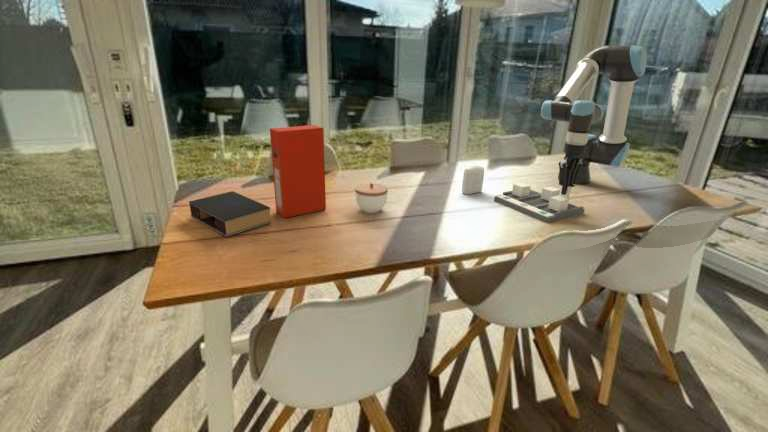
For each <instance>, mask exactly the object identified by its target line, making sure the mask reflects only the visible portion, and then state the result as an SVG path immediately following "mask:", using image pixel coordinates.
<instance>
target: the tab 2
mask: <svg viewBox="0 0 768 432" xmlns="http://www.w3.org/2000/svg"><path fill="white" fill-rule="evenodd" d="M569 201H570V198H569V199H567V198H564V197H561V195H559V196H553V197H550V199H549V205H548V208H549V209H552V210H555V211H557V212H560V211H564V210H567V206H568V203H569Z"/></svg>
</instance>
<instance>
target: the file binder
mask: <svg viewBox="0 0 768 432" xmlns="http://www.w3.org/2000/svg"><path fill="white" fill-rule="evenodd" d="M324 132H325V131H324V127H323V126H319V125H315V124H311V125H309V124H308V125H297V126H287V127H284V126H283V127H275V128H269V135H270V148H271V159H272V161H271V163H272V173H273V185H274V187H273V188H274V198H275V212H276V213H277V214H278V215H279V216H280V217H282V218H283V219H287V218H291V217H296V216H301V215H305V214H309V213H314V212H320V211H324V210H326V209H327V207H326V206H327V205H326V204H327V203H326V200H327V199H326V173H325V172H326V170H325V169H326V167H325V165H326V163H325V138H324V137H325V134H324Z"/></svg>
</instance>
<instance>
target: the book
mask: <svg viewBox="0 0 768 432" xmlns="http://www.w3.org/2000/svg"><path fill="white" fill-rule="evenodd" d="M188 204H189V208H190V217H191V218H193V219H195V221H196V220H197V221H199V222H200V224H203V225H205V226H207V227H209V228H210V229H212V230H214V231H216V232H217V233H219V234H221V235H222V236H224V237H227V238H228V237H231V236H234V235H237V234H240V233H244V232H246V231H248V230H252V229H255V228H259V227H262V226H265V225H268V224H271V223H272V221H271V207H270V206H267V205H265V204H263V203H261V202H259V201H256V200H253V199H252V198H249V197H247V196H245V195H242V194H240V193H237V192H236V191H233V190H232V191H228V192H223V193H220V194H219V193H218V194H214V195H211V196H207V197H206V196H205V197H203V198H198V199H195V200H190V201H188Z"/></svg>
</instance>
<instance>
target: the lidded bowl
mask: <svg viewBox="0 0 768 432" xmlns="http://www.w3.org/2000/svg"><path fill="white" fill-rule="evenodd" d="M354 190H355V200H356V205H358V207H359V208H360V209H361V210H362V211H363V212H364V213H367V214H376V213H379V212H380V211H381V210H382V209H383V208H384V207H385V205H386V202H387V198H388V190H389V189H388V187H387V186H386V185H384V184H381V183H377V182H376V183H374V182H369V183H361V184H358V185H357V186H355V188H354Z"/></svg>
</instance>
